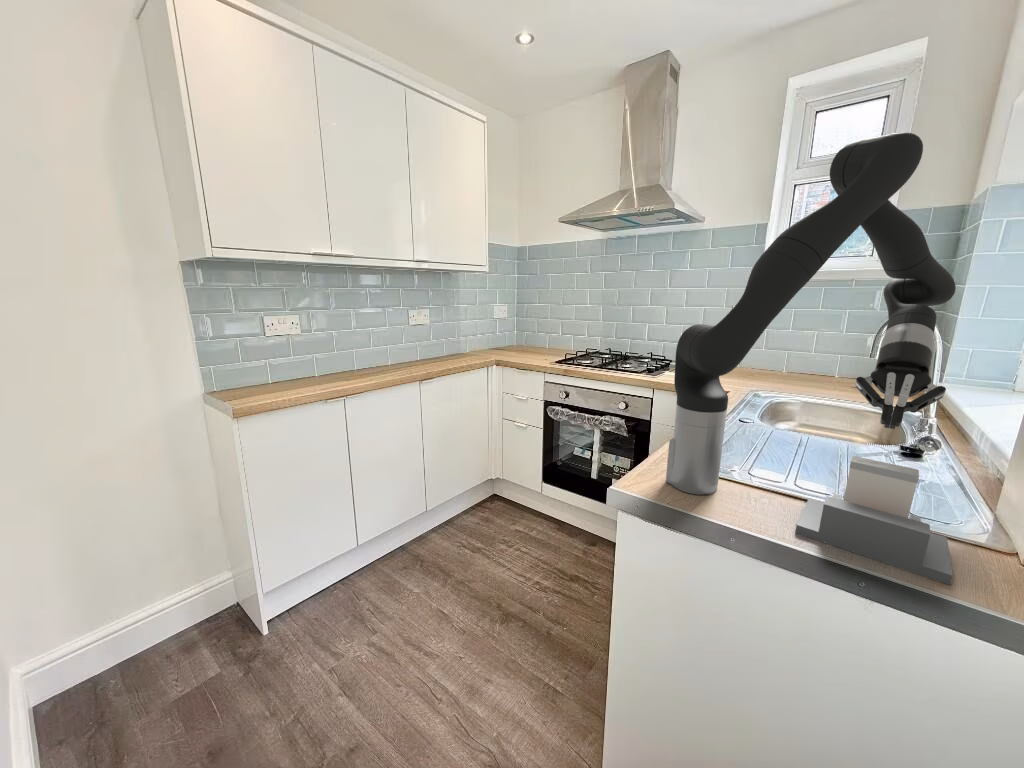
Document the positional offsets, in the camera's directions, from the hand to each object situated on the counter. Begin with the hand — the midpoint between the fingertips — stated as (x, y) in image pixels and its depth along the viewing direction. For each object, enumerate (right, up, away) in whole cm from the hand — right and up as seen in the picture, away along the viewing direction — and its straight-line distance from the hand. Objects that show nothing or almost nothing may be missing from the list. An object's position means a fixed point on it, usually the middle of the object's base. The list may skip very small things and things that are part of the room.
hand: (890, 426), depth 74 cm
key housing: (-11, -18, -8) cm, 22 cm away
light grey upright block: (-9, -15, -6) cm, 19 cm away
